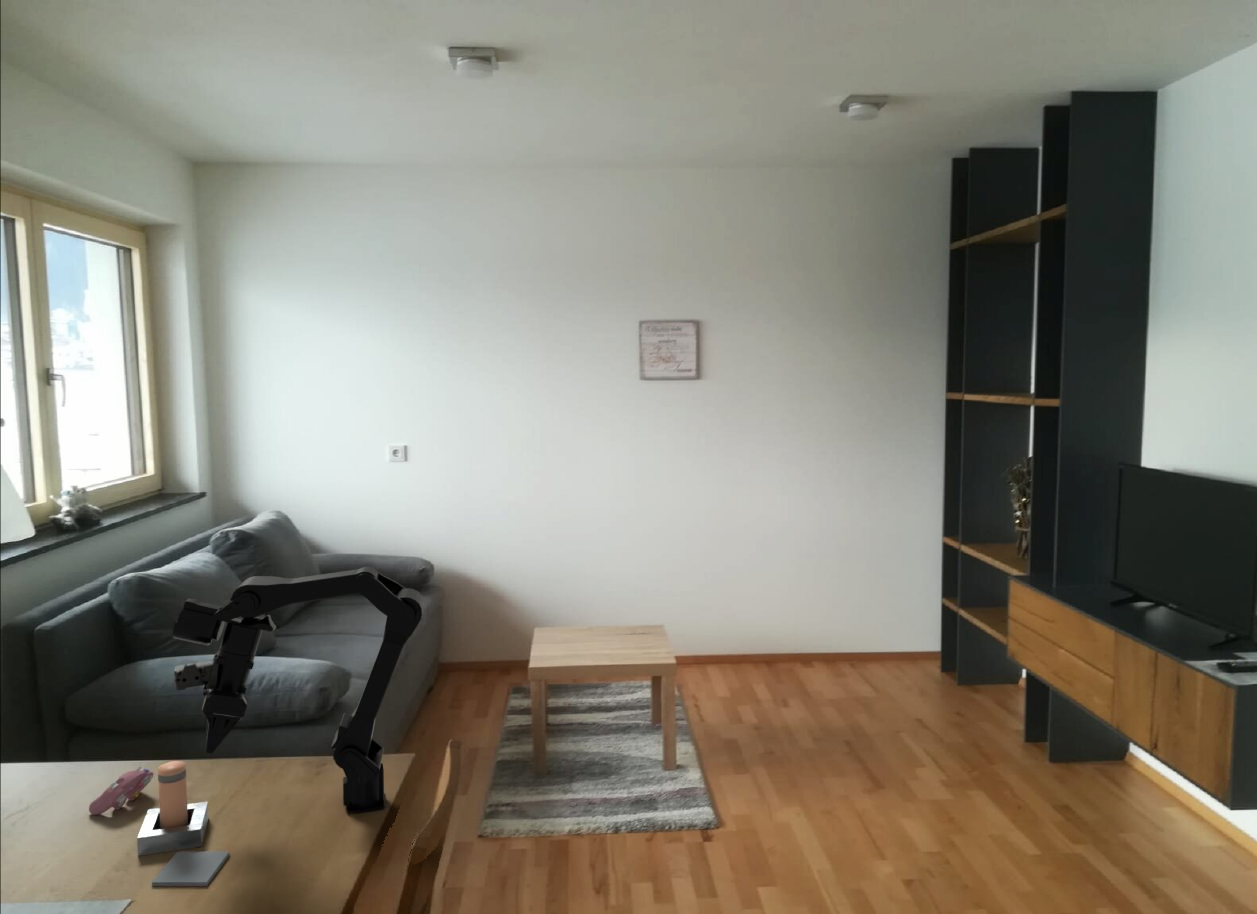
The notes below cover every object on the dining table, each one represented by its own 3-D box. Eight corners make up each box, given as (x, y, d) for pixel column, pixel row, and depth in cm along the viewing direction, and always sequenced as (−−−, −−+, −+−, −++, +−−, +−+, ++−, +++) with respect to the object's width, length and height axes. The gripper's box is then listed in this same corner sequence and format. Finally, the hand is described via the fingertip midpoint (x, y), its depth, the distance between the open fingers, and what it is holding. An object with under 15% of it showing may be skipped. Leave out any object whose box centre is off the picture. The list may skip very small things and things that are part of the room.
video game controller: (105, 827, 146) (119, 794, 145) (84, 812, 147) (98, 780, 145) (148, 798, 156) (162, 767, 154) (128, 785, 156) (142, 754, 155)
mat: (177, 854, 136) (177, 851, 136) (229, 854, 136) (229, 851, 136) (151, 885, 128) (151, 882, 128) (206, 885, 128) (206, 882, 128)
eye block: (208, 818, 147) (207, 801, 146) (201, 846, 138) (200, 828, 138) (148, 826, 144) (148, 809, 143) (137, 856, 135) (137, 838, 135)
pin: (190, 827, 144) (187, 759, 142) (186, 840, 140) (183, 770, 138) (163, 831, 142) (160, 762, 141) (158, 844, 138) (155, 774, 137)
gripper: (187, 633, 150) (159, 722, 148) (184, 653, 133) (152, 754, 131) (254, 644, 155) (227, 731, 153) (259, 666, 138) (229, 764, 136)
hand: (209, 744), depth 143 cm, fingers open, 9 cm apart
